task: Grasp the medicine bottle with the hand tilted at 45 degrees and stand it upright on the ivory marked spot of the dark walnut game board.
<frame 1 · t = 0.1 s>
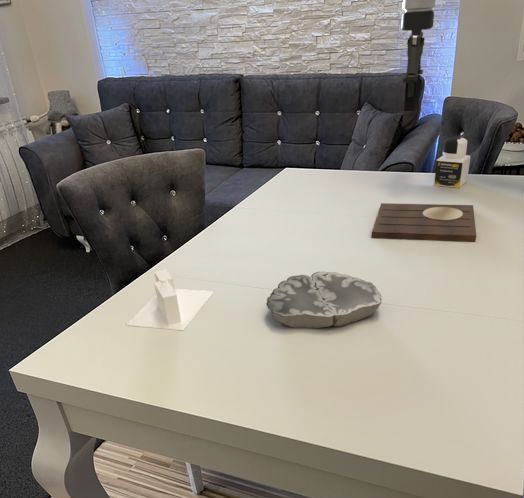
hand: (411, 106, 140), 21 cm above the table, tool pointing down, fingers open, 13 cm apart
napkin holder: (172, 308, 99), on the table
brain slice: (320, 308, 95), on the table
medicine bottle: (450, 184, 150), on the table
board: (423, 224, 125), on the table
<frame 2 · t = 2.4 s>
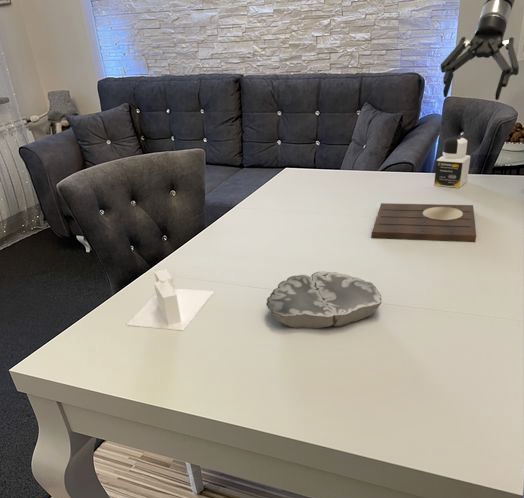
hand: (470, 95, 145), 21 cm above the table, tool tilted 40°, fingers open, 13 cm apart
nothing on the table moved.
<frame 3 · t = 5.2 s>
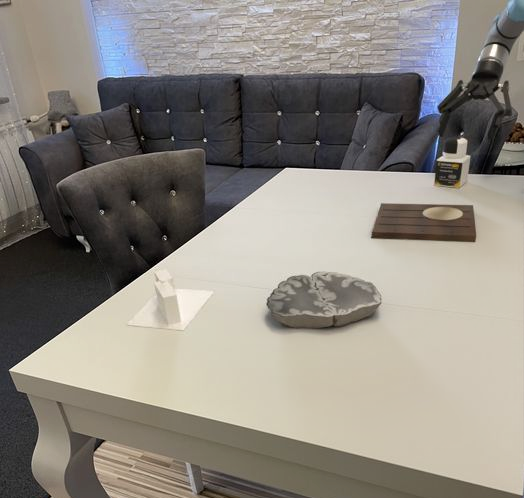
hand: (464, 135, 148), 11 cm above the table, tool tilted 45°, fingers open, 13 cm apart
nothing on the table moved.
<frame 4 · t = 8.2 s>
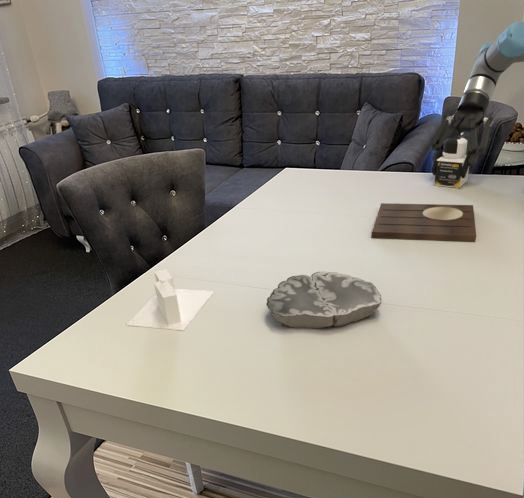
hand: (447, 173, 146), 4 cm above the table, tool tilted 45°, fingers closed on medicine bottle, 7 cm apart
medicine bottle: (450, 184, 150), on the table, touching gripper
everything else where it was.
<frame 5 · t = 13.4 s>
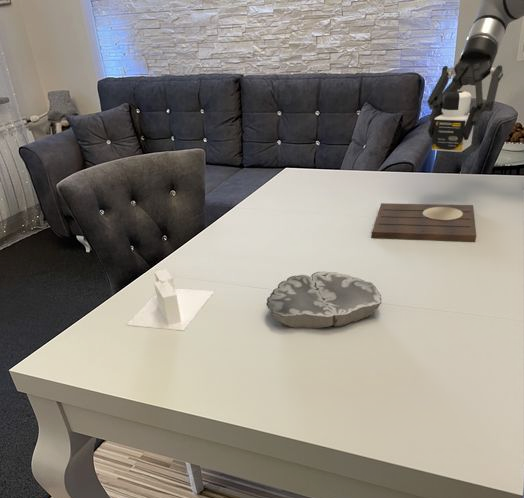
hand: (447, 135, 122), 18 cm above the table, tool tilted 45°, fingers closed on medicine bottle, 7 cm apart
medicine bottle: (451, 148, 126), point 14 cm above the table, touching gripper
everything else where it was.
when the fingers open (5 cm above the table, at t = 18.5 s): medicine bottle stays where it is, resting on board.
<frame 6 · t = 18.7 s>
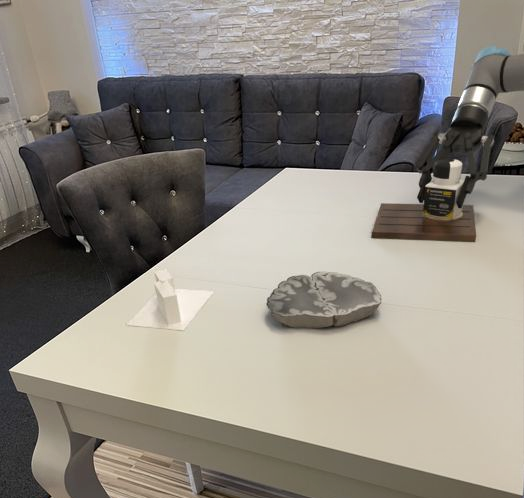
hand: (438, 202, 122), 5 cm above the table, tool tilted 45°, fingers open, 8 cm apart
medicine bottle: (442, 213, 126), point 2 cm above the table, touching board
everything else where it was.
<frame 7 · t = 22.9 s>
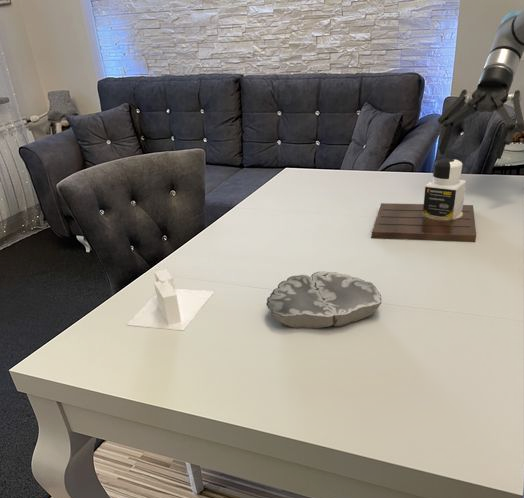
hand: (468, 153, 129), 12 cm above the table, tool tilted 45°, fingers open, 13 cm apart
nothing on the table moved.
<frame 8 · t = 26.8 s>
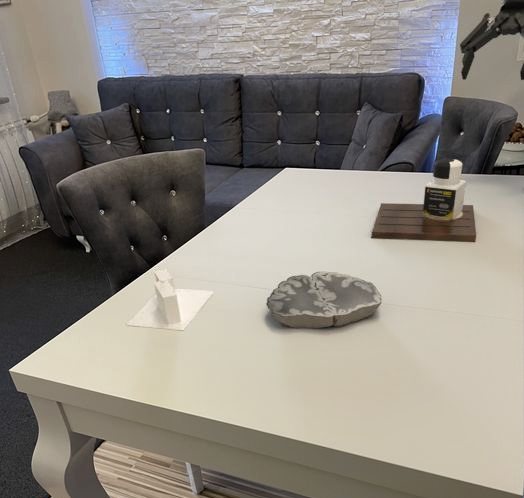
hand: (491, 76, 127), 28 cm above the table, tool tilted 45°, fingers open, 13 cm apart
nothing on the table moved.
at the end: medicine bottle 0.0 cm from the target spot on the board, point 1.5 cm above the board's base; medicine bottle tilted 0°; the gripper is holding nothing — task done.
